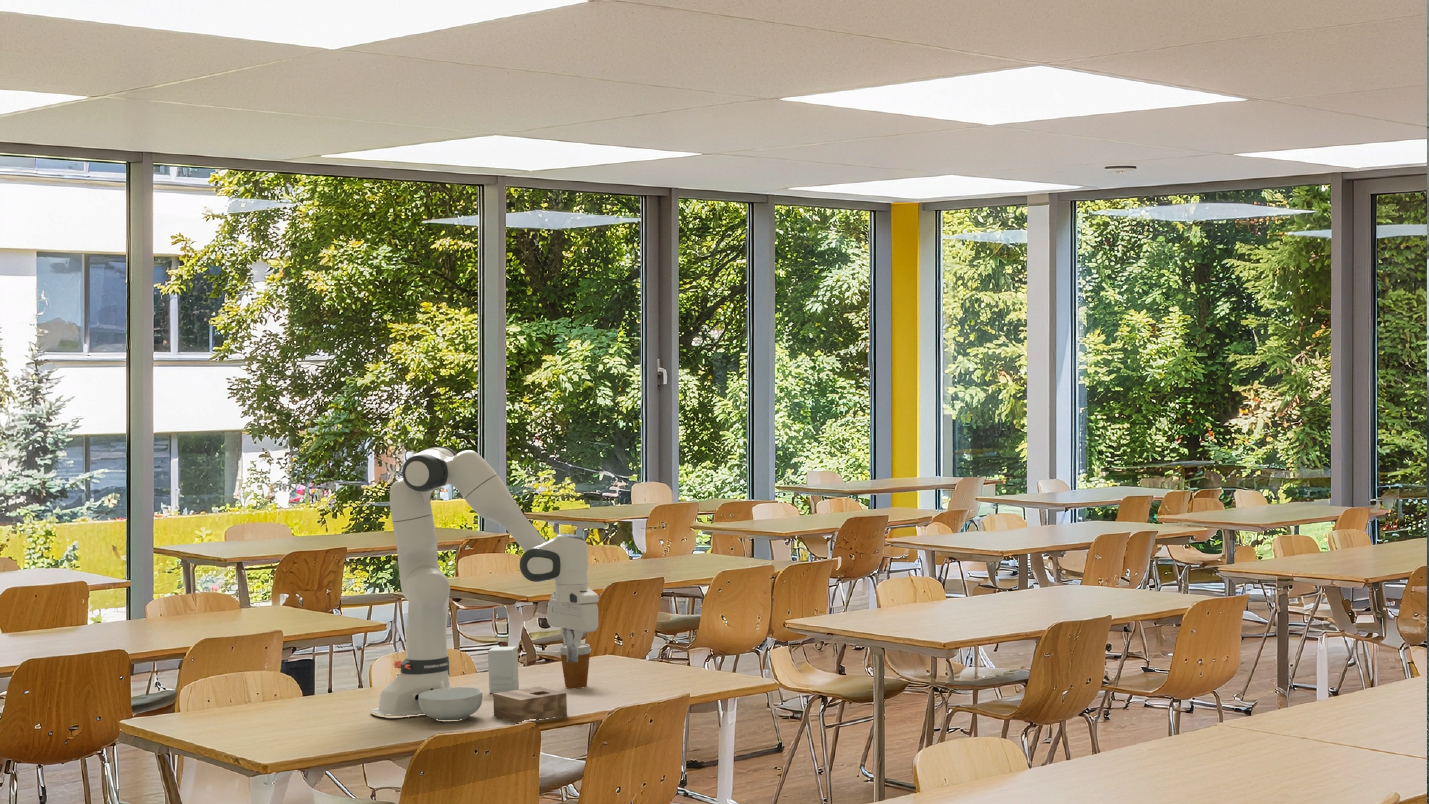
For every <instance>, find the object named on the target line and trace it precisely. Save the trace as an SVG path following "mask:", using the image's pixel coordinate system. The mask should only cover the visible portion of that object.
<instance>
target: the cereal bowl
mask: <svg viewBox="0 0 1429 804" xmlns="http://www.w3.org/2000/svg"><path fill="white" fill-rule="evenodd" d="M418 699H419V706H420V709H421V711H422V712H423V713H424V714H425V715H426V717H429V718H432V719H435V720H436V719H438V720H460V719H464V720H466V719H467V718H468V717H469V716H471V715H473V714H474V713H476V712H478V710H479V709H480V708H481V706H482V703H483V690H482V689H480V688H478V687H469V686H454V687H452V686H451V687H450V688H441V689H434V690H429V691H425V692H422V693H420V694H419V696H418Z"/></svg>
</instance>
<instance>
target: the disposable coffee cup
mask: <svg viewBox="0 0 1429 804" xmlns="http://www.w3.org/2000/svg"><path fill="white" fill-rule="evenodd" d="M591 651H592V648H591V646H590V644H588V643H581V646H580V647H578V662H567V645H564V644H562V645H561V646H560V647H559V650H558V652H559V654H560V659H561V667H562V672H563V679H564V685H565V688H566V687H567V688H566V689H572V688H576V689H583V688H582V687H584V688H586V687H588V679H589V667H590V657H591V656H590V655H591Z"/></svg>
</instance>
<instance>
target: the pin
mask: <svg viewBox="0 0 1429 804" xmlns="http://www.w3.org/2000/svg"><path fill="white" fill-rule="evenodd" d="M574 637H575V634H574V630H571V629H567V662H578V647H573V646H572V640H574Z"/></svg>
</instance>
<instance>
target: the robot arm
mask: <svg viewBox="0 0 1429 804" xmlns="http://www.w3.org/2000/svg"><path fill="white" fill-rule="evenodd" d="M401 469H402V470H401V475H402V478H399V479H398V480H396V481H394V482H393V483H391V484H392V485H391V486H390V488H389V508H390V510H389V511H390V518H391V522H392V527H393V533H394V540H395V544H396V550H397V563H398V573H399V575H398V576H399V581H400V590H401V593H402V595H403V597H404V598H405V599H406V601H407V603H408V606H407V607H408V608H407V620H406V627H405V655H406V656H405V658H404V660H403V661H400V660H395V661H394V662H393V664H392V665H393V667H394V668H395V669H400V673H399V674H398V675H397V676H396V677H395V678H393V680H391V681H390V682H389V683H388V684H387V685H386V686H384V688H382V690H381V691H380V694H379V695H380V696H379V701H378V707H376V708H371V710H370V712H371V711H372V712H373V713H375V714H381V715H384V716H407V715H418V714H424V713H423V712H422V711H421V709H420V706H419V699H418V696H419V694H420V693H422V692H425V691H429V690H434V689H441V688H451V687H450V686H451V685H450V679H449V678H450V677H449V676H450V657H449V656H448V639H447V638H448V636H447V635H448V633H447V630H448V628H447V627H448V617H449V616H448V615H449V610H450V609H449V607H450V593H451V585H450V581H449V578H448V577H447V576H446V575H445V573H443V572H442V571H441V570H440V567H439V556H438V554H439V553H438V543H439V541H438V538H437V537H438V536H437V532H436V531H437V530H436V526H435V518H434V515H433V509H432V505H431V495H432V493H433V492H434V491H436V490H437V491H438V490H439V489H441V488H443V487H445V486H447V485H450V486H453V487H454V489H456V490H457V491H458V492H459V494H461V496H462V497H463V499H464V500H465V501H466V503H467V504H468V506H469V507H470V508H471V509H472V510H473V511H475V513H476V514H477V515H478V516H480V517H481V518H482V519H485V520H488V521H491V522H493V523H495V524H497V525H499V526H501V527H503V528H504V529H505V530H506V531H507V532H508V533H509V534H510V535H511V537H512V538H513V539H514V541H515V542H516V544H517V545H519V547H520V548H521V549H522V551H523V552H524V553H523V554H522V555H521V557H520V560H519V570H520V573H521V575H522V576H523V577H524V578H525V579H526V580H527V581H531V582H532V583H533V582H535V583H543V582H545V581H551V580H554V582H555V583H554V586H555V587H554V588H555V589H554V591H553V593H552V594H551V595H550V599H549V601H548V605H547V615H546V621H547V625H548V626H549V627H555V628H560V634H561V636H562V639H563V640H562V642H563V644H562V645H567V629H571V630H574V634H575V637H574V640H572V646H573V647H580V646H581V644H582V639H583V635H584V633H594V632H596V631H597V629H598V627H599V607H598V604H597V603H599V601H600V599H599V598H600V597H599V596H600V595H599V594H598V593H596V592H595V591H594V590H592V589H591V587H589V579H588V576H587V575H588V568H589V556H588V554H589V552H588V545H587V544H588V543H587V541H586V539H585V538H583V537H582V536H580V535H578V534H575V533H565V532H561V533H559V534H557V535H556V536H555V537H554V538H552V539H549V540H548V539H546V538H544V536H543V535H542V534H541V533H540V532H539V531H538V530H537V528H536V527H535V526H534V525H533V523H531V521H530V520H529V519H528V517H527V516H526V515H525V514H524V512H523V511H522V510H521V508H520V507H519V505H518V503H517V502H516V500H515V498H514V497H513V496H512V494H511V492H510V491H509V488H508V487H507V486H506V484H505V483H504V481H503V480H502V478H501V477H500V476H499V474H498V473H497V472H496V471H495V469H494V468H493V467H492V466H491V465H490V463H489V462H487V460H486V459H484V458H483V456H481V455H480V454H479V453H478V452H476V451H475V450H471V449H468V450H462V451H460V452H458V453H457V452H456V451H454V449H452V448H449V447H446V446H436V447H429V448H425V449H423V450H422V451H420V452H415V453H413V454H412V455H411V456H409V457H408V458H407V459H406V460H405V462H404V464H403V466H402V468H401ZM386 714H391V715H386Z"/></svg>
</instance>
